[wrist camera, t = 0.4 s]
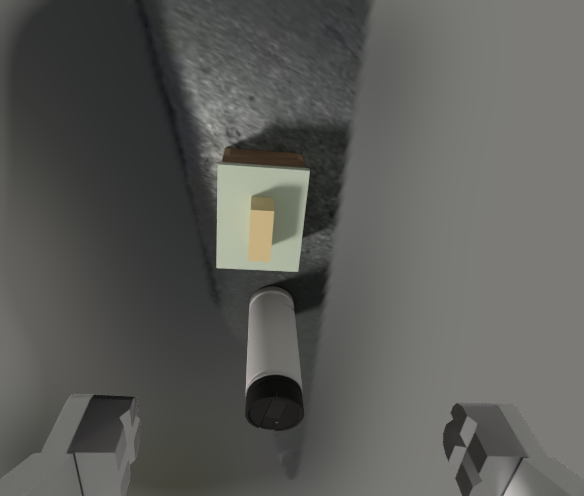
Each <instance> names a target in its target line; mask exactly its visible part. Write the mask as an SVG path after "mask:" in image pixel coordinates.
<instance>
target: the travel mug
mask: <svg viewBox="0 0 584 496" xmlns="http://www.w3.org/2000/svg"><path fill="white" fill-rule="evenodd" d="M245 416H246V419H247V420H248V422H249V423H250V424H251V425H253V426H255V427H257V428H259V427H260V428H263V429H269V430H273V429H275V431H284V430H288V429H291V428H293V427H295V426H297V425H298V424H299V423H300V422H301V421H302V419H303V417H304V408H303V399H302V382H301V372H300V363H299V353H298V343H297V333H296V323H295V313H294V303H293V299H292V297H291V295H290V294H289V293H288V292H287V291H286V290H284V289H282V288H279V287H274V286H270V287H265V288H262V289H260V290H258V291H257V292H255V293H254V294H253V296H252V297H251V299H250V305H249V328H248V351H247V374H246V410H245Z"/></svg>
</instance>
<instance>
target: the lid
mask: <svg viewBox="0 0 584 496" xmlns="http://www.w3.org/2000/svg"><path fill="white" fill-rule="evenodd" d="M309 175H310V169H309V168H298V167H284V166H269V165H255V164H241V163H227V162H218V186H217V268H228V269H249V270H270V271H290V272H298V268H299V259H300V251H301V243H302V234H303V226H304V217H305V209H306V200H307V192H308V184H309Z"/></svg>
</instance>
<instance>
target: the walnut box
mask: <svg viewBox="0 0 584 496" xmlns="http://www.w3.org/2000/svg"><path fill="white" fill-rule="evenodd" d="M222 162H227V163H241V164H255V165H269V166H284V167H298V168H305V164H304V160H303V156H302V154H300V153H287V152H273V151H260V150H246V149H233V148H225V152H224V156H223V160H222Z"/></svg>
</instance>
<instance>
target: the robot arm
mask: <svg viewBox="0 0 584 496" xmlns="http://www.w3.org/2000/svg"><path fill="white" fill-rule="evenodd" d="M137 410H138V399H137V397H135V396H114V395H86V394H72V396H70V397H69V398H68V399H67V401H66V403H65V405H64V408H63V409H62V411H61V413H60V415H59V418H58V419H57V421H56V423H55V425H54V428H53V429H52V432H51V433H50V435H49V438H48V440H47V441H46V444H45V445H44V447H43V449H42V451H41V453H34V454H32V455H31V456H30V457H29V458H27V459H26V460H25V461H23V462H22V463H21V464H19V465H18V466H17V467H15V468H14V469H13V470H12V471H10V472H9V473H8V474H6V475H5V476H4V477H2V478H1V479H0V496H125V494H126V491H127V487H128V484H129V480H130V469H129V465H130V464H131V463H132V462H133V461H134V460H135V459H136V455H137V451H138V447H139V440H140V428H141V426H140V419H139V418H138V417H137V416H136V414H137ZM450 413H451V415H452V418H453V420H451V421H450V422H449V423H447V424H446V426H445V429H444V432H443V446H444V451H445V454H446V457H447V460H448V462H449V463H450V464H451V465H452V466H453V467H455V468H456V469H457V474H456V477H455V479H456V482H457V484H458V487H459V489H460V492H461V494H462V496H584V479H582V478H581V477H579V476H578V475H577V474H575V473H574V472H573V471H571V470H570V469H568V468H567V467H566V466H565V465H563V464H562V463H561V462H559V461H558V460H556V459H555V458H549V457H548V456H547V454H546V452H545V451H544V449H543V448H542V446H541V445H540V443H539V441H538V440H537V438H536V437H535V435H534V434H533V432H532V430H531V429H530V427H529V426H528V424H527V423H526V421H525V420H524V418H523V416H522V415H521V413H520V412H519V410H518V408H517V407H516V406H514V405H513V404H497V403H496V404H495V403H494V404H491V403H456V404H455V405H454V406H453V408H452V410H451V412H450Z"/></svg>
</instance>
